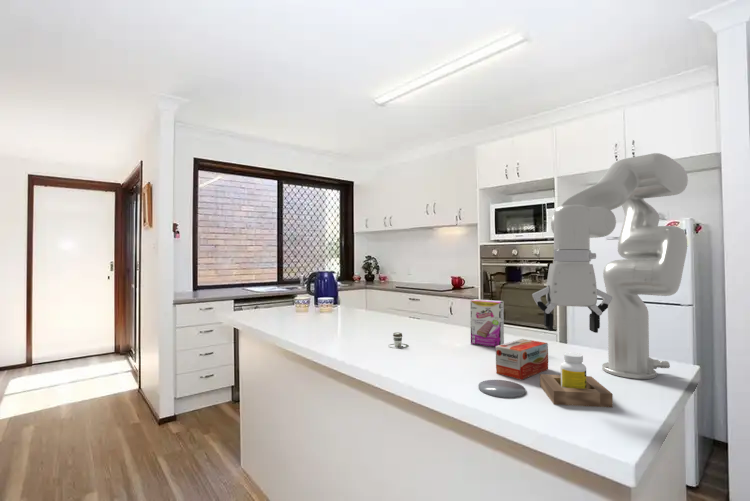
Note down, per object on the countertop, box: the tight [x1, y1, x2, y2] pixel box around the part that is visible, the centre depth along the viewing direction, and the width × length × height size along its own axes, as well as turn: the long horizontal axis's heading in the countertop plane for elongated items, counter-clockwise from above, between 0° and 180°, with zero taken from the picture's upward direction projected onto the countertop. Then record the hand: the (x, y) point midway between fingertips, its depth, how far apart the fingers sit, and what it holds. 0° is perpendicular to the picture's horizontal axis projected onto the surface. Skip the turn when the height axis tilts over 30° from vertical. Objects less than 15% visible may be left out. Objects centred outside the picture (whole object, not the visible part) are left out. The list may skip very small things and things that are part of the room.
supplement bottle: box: [560, 352, 587, 389], centre depth 90 cm, size 5×5×10 cm
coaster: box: [477, 379, 526, 399], centre depth 94 cm, size 11×11×1 cm
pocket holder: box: [539, 373, 614, 409], centre depth 90 cm, size 12×12×3 cm
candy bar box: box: [470, 298, 505, 348], centre depth 141 cm, size 11×5×16 cm, turn 58°
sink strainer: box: [388, 332, 410, 349], centre depth 141 cm, size 12×12×5 cm
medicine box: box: [495, 338, 549, 381], centre depth 109 cm, size 15×8×8 cm, turn 130°
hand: (571, 330), depth 90 cm, fingers open, 9 cm apart
